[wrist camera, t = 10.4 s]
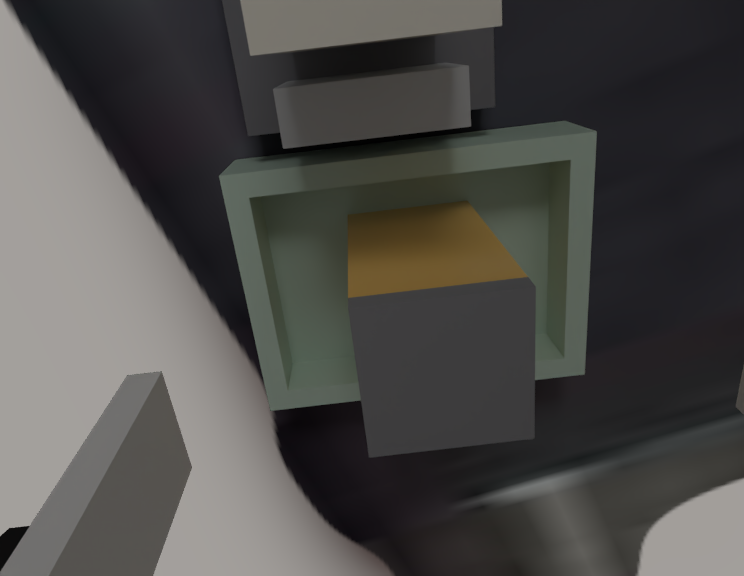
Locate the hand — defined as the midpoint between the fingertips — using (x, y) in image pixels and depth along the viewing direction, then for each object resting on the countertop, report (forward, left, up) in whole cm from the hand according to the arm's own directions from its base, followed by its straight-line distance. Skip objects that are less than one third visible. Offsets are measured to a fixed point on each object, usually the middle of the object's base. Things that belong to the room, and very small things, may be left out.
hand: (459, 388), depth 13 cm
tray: (0, 0, -10) cm, 10 cm away
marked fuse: (0, 0, -9) cm, 9 cm away
